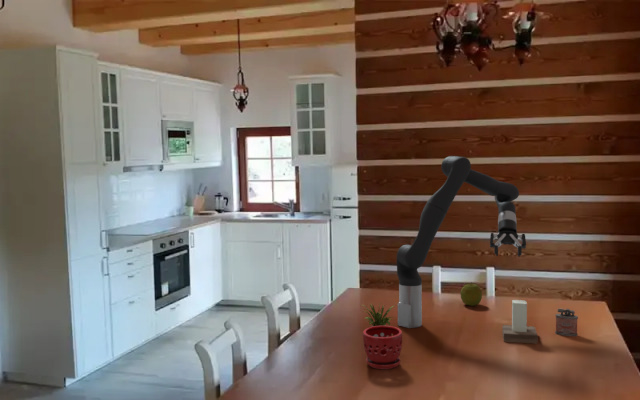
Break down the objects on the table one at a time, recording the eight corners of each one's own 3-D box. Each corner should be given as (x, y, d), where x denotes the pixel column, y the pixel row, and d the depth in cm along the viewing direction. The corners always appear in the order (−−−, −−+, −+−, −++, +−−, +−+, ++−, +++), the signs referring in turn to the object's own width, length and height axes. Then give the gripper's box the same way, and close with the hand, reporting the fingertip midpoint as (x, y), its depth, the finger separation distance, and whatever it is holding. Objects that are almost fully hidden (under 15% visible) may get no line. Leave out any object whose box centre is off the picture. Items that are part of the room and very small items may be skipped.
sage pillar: (526, 332, 231) (526, 303, 230) (512, 331, 233) (512, 303, 232) (525, 328, 236) (525, 300, 235) (511, 327, 237) (512, 299, 236)
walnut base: (537, 343, 227) (537, 335, 227) (503, 341, 230) (503, 333, 230) (534, 334, 239) (534, 326, 238) (502, 332, 242) (502, 324, 241)
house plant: (351, 348, 225) (351, 304, 223) (362, 337, 238) (361, 296, 236) (389, 352, 220) (389, 307, 219) (398, 340, 233) (398, 298, 232)
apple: (465, 301, 291) (465, 278, 290) (485, 304, 286) (485, 281, 285) (457, 305, 283) (457, 282, 282) (477, 308, 278) (477, 285, 277)
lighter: (577, 334, 238) (578, 309, 237) (577, 336, 235) (577, 311, 234) (555, 331, 241) (555, 307, 240) (554, 334, 238) (555, 309, 237)
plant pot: (362, 358, 214) (362, 325, 213) (400, 358, 213) (400, 324, 212) (364, 372, 201) (363, 336, 200) (404, 372, 200) (404, 336, 199)
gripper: (490, 218, 258) (490, 249, 248) (525, 218, 255) (527, 250, 245) (489, 229, 264) (489, 259, 254) (524, 229, 260) (525, 261, 250)
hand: (508, 255), depth 249 cm, fingers open, 8 cm apart
